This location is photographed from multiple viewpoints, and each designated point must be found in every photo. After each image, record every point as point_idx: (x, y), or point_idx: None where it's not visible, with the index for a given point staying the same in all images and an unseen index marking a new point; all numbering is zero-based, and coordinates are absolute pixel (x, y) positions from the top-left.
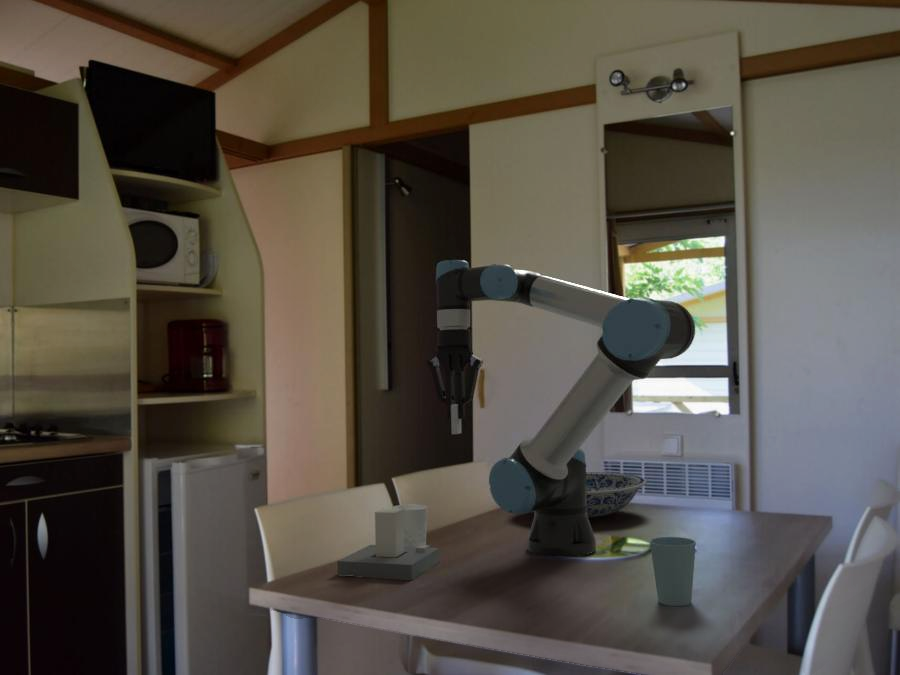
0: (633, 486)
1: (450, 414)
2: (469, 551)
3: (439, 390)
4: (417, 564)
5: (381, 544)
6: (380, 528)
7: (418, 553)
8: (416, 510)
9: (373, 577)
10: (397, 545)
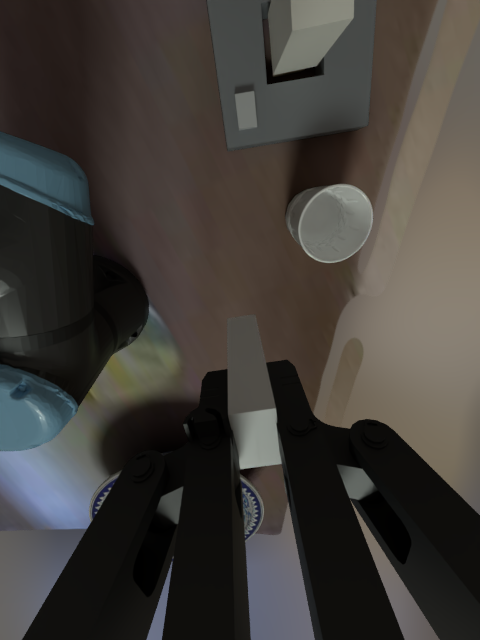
0: (90, 506)
1: (277, 377)
2: (219, 249)
3: (441, 522)
4: None
5: None
6: None
7: (240, 75)
8: (308, 200)
9: None
10: (272, 11)
